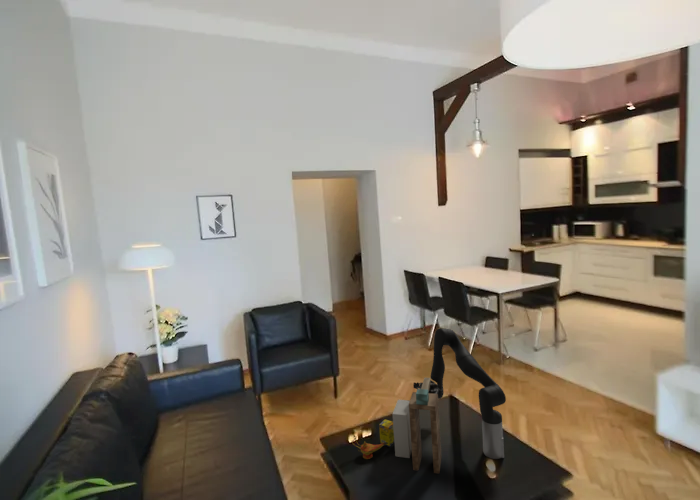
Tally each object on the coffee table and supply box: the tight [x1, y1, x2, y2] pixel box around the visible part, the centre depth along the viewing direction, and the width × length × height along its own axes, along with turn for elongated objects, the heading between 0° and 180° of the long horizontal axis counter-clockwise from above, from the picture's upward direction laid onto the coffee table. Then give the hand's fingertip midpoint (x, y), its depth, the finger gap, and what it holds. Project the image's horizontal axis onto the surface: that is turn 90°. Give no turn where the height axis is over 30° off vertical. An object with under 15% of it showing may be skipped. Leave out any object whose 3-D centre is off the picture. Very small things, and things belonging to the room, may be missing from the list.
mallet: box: [415, 377, 432, 405], centre depth 180 cm, size 5×22×5 cm, turn 162°
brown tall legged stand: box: [409, 391, 442, 474], centre depth 176 cm, size 12×12×32 cm
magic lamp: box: [351, 434, 388, 460], centre depth 186 cm, size 7×18×11 cm, turn 83°
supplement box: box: [378, 419, 395, 448], centre depth 196 cm, size 6×6×11 cm
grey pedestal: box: [392, 399, 412, 459], centre depth 190 cm, size 7×14×22 cm, turn 162°
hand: (426, 385), depth 185 cm, fingers open, 8 cm apart
